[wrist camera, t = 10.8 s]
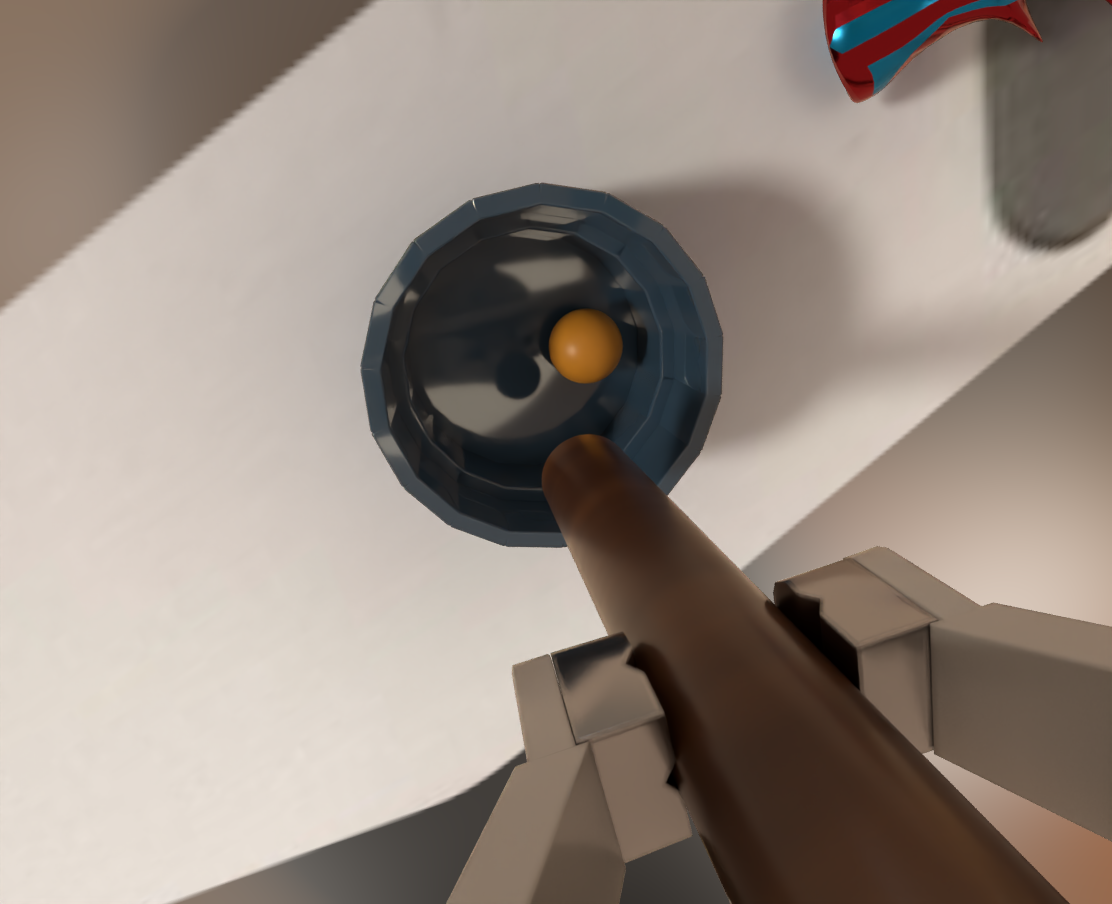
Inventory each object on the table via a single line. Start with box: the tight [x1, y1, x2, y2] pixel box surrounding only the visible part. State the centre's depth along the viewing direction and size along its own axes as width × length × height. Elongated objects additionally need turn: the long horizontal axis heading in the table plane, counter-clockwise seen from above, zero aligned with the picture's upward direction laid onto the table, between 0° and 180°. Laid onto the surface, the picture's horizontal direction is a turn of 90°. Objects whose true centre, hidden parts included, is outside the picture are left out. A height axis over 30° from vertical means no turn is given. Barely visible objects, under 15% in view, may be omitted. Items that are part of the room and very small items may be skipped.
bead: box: [549, 308, 623, 384], centre depth 20 cm, size 2×2×2 cm
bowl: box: [361, 183, 723, 548], centre depth 18 cm, size 10×10×6 cm
